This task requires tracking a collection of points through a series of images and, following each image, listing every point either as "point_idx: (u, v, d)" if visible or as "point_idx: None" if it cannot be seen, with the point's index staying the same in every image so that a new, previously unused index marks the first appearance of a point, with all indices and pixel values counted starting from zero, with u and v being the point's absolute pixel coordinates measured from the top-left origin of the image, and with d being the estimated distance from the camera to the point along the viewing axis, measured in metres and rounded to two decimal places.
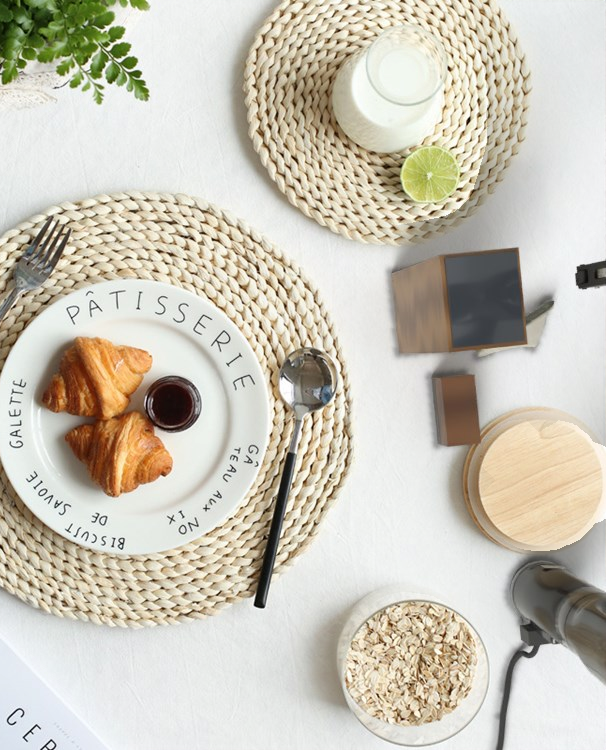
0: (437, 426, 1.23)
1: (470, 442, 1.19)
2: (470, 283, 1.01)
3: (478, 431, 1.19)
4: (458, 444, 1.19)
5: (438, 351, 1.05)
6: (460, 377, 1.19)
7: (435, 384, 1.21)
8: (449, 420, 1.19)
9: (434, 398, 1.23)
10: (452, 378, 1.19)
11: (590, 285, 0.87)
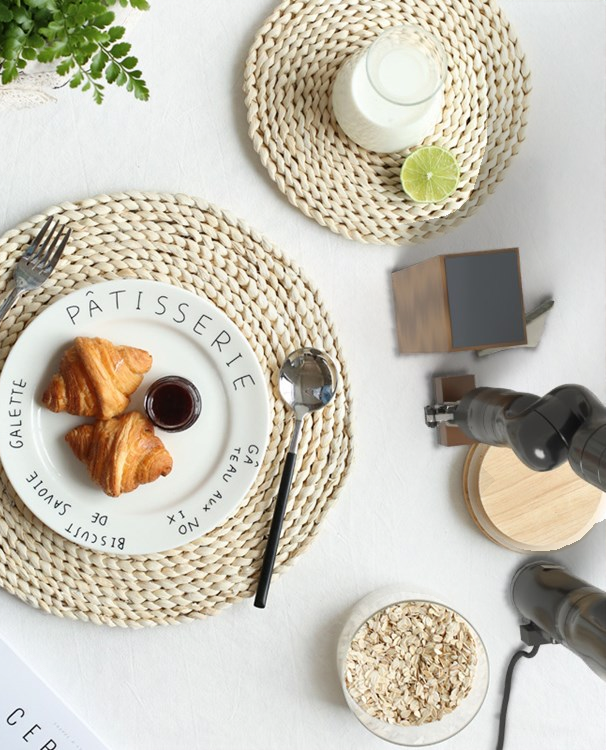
0: (437, 426, 1.23)
1: (470, 442, 1.19)
2: (470, 283, 1.01)
3: None
4: (458, 444, 1.19)
5: (438, 351, 1.05)
6: (460, 377, 1.19)
7: (435, 384, 1.21)
8: None
9: (434, 398, 1.23)
10: (452, 378, 1.19)
11: (426, 424, 1.16)
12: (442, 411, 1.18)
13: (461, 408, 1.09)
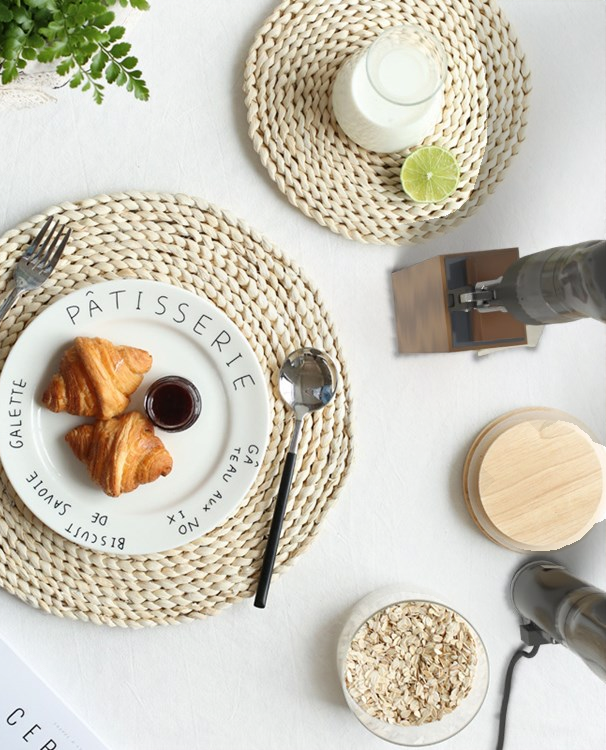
0: (469, 319, 1.00)
1: (511, 335, 0.96)
2: None
3: None
4: (496, 338, 0.96)
5: (438, 351, 1.05)
6: (498, 255, 0.96)
7: (467, 266, 0.98)
8: None
9: (465, 285, 1.00)
10: (489, 256, 0.96)
11: (456, 309, 0.91)
12: None
13: (507, 279, 0.85)
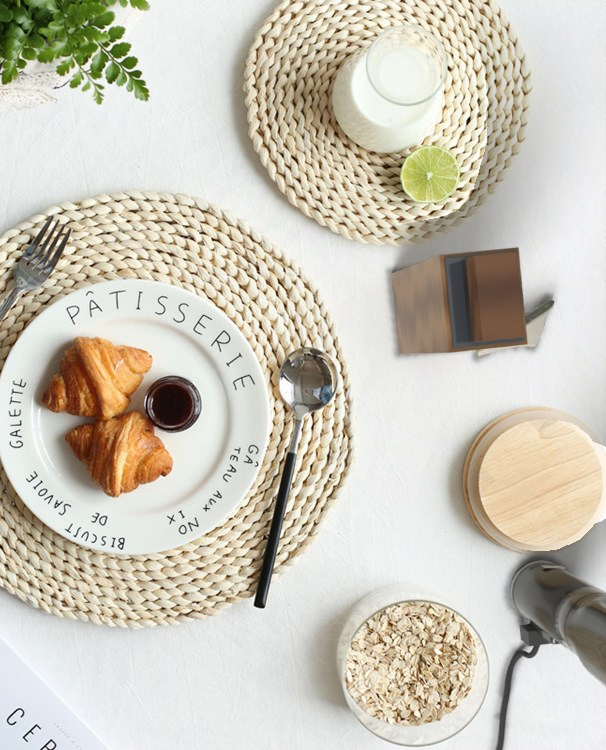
0: (469, 319, 1.00)
1: (511, 335, 0.96)
2: None
3: (521, 322, 0.97)
4: (496, 338, 0.96)
5: (438, 351, 1.05)
6: (498, 255, 0.96)
7: (467, 266, 0.98)
8: (485, 308, 0.96)
9: (465, 285, 1.00)
10: (489, 256, 0.96)
11: None
12: None
13: None
